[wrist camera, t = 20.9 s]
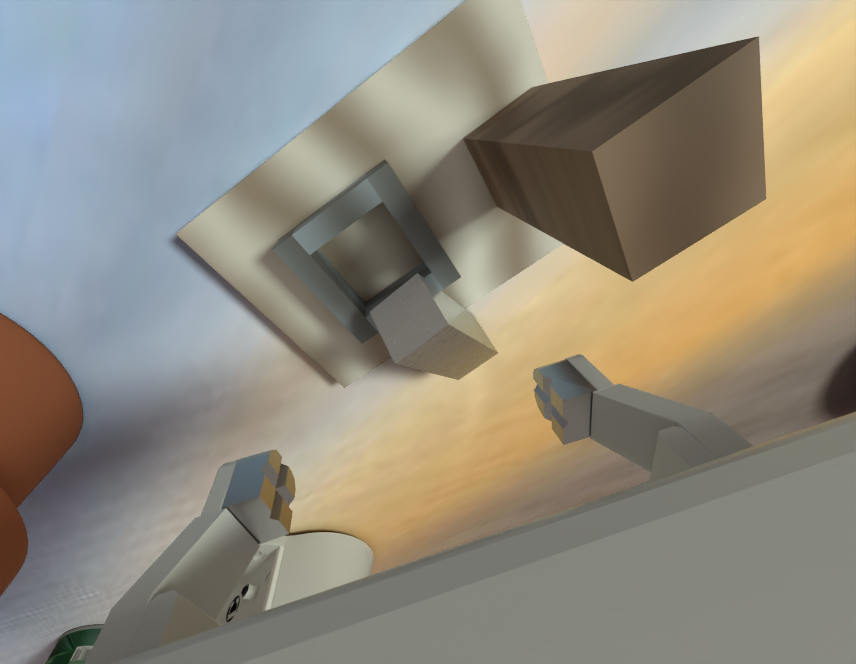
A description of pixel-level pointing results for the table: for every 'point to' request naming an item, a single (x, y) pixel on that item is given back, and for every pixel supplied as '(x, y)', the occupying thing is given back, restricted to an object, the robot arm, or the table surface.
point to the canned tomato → (75, 645)
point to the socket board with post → (484, 178)
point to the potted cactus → (29, 431)
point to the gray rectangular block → (431, 331)
